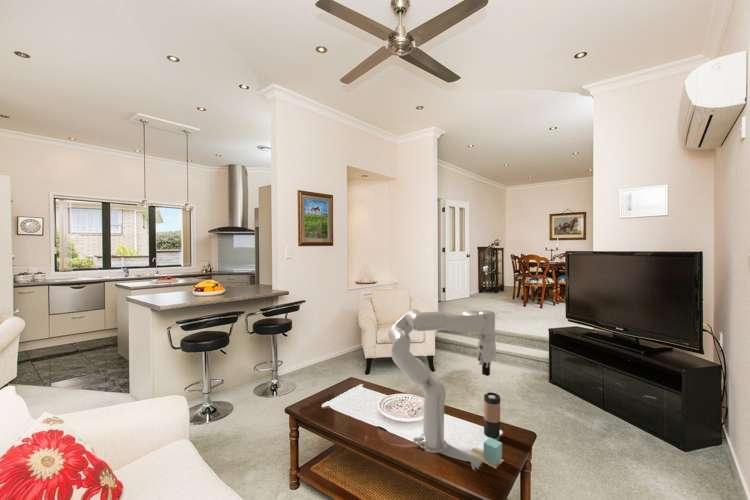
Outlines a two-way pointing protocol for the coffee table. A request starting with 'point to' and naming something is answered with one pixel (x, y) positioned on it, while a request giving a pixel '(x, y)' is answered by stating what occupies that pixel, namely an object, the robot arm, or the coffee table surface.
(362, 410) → the coffee table surface
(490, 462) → the post
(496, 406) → the travel mug
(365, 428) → the coffee table surface
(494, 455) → the mint green cube
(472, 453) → the board
